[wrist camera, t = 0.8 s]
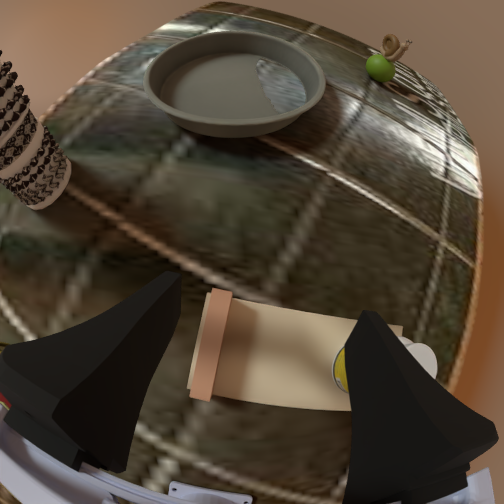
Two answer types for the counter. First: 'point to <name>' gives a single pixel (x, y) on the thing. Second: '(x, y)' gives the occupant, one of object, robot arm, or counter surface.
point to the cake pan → (228, 83)
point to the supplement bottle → (416, 349)
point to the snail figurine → (386, 59)
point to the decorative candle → (28, 149)
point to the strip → (268, 354)
